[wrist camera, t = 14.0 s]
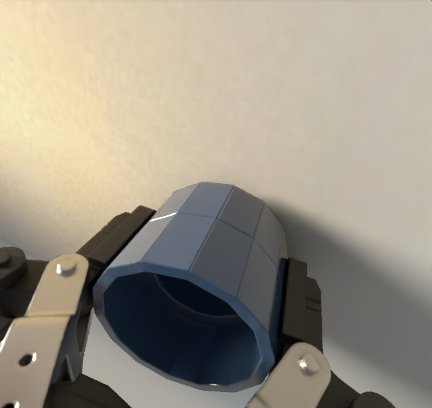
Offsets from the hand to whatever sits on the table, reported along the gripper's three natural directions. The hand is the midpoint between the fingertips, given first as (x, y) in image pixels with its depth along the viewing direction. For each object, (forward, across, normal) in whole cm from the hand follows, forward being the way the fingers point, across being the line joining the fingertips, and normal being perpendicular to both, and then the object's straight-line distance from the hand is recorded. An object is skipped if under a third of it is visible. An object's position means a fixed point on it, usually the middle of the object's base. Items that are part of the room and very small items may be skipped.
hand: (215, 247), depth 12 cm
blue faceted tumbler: (+1, 0, 0) cm, 1 cm away
